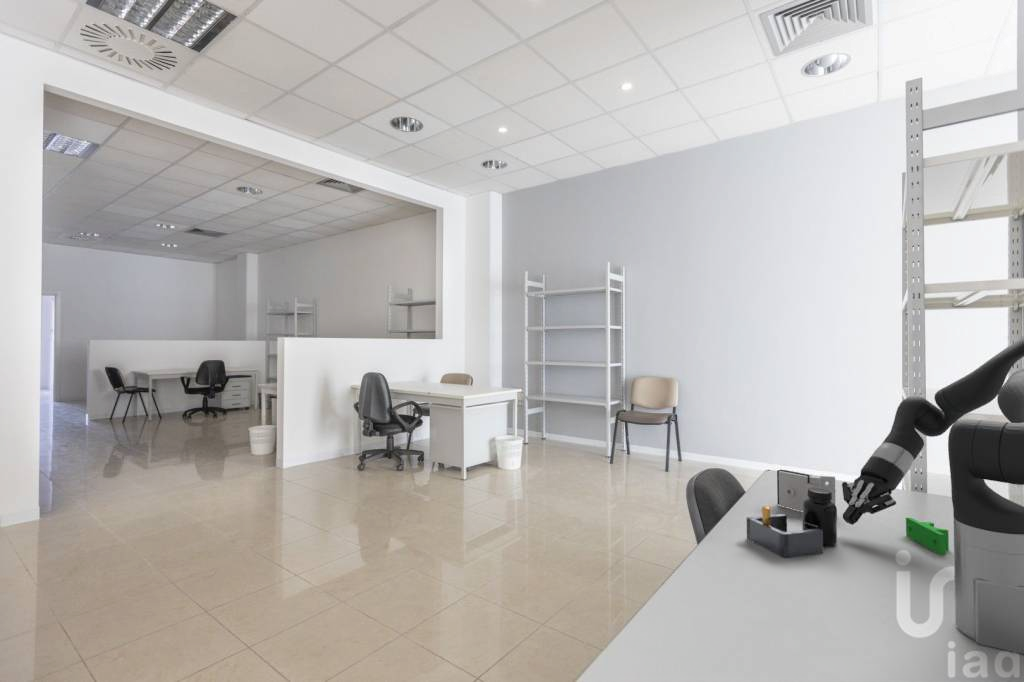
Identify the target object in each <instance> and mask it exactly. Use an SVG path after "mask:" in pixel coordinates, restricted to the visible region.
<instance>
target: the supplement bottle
mask: <svg viewBox="0 0 1024 682" xmlns="http://www.w3.org/2000/svg"><path fill="white" fill-rule="evenodd" d="M807 496H808V497H809V498H808V499H806V500H804V502H803V512H802V530H809V529H821V530H823V548H824V547H825V548H827V547H829V548H830V547H834V546H836V545H837V541H838V535H837V534H838V533H837V532H838V509H837V505H836V506H835V504H836V503H835V504H834V503H832V502H831V500H832V492H831V491H830V490H828V489H824V488H817V487H810V488H808V494H807Z"/></svg>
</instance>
